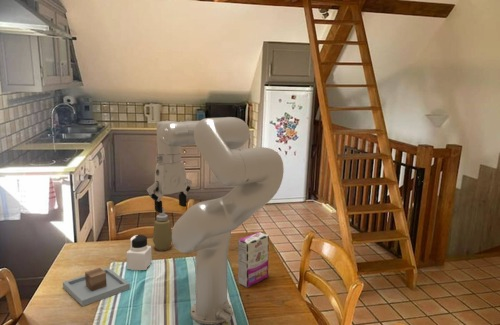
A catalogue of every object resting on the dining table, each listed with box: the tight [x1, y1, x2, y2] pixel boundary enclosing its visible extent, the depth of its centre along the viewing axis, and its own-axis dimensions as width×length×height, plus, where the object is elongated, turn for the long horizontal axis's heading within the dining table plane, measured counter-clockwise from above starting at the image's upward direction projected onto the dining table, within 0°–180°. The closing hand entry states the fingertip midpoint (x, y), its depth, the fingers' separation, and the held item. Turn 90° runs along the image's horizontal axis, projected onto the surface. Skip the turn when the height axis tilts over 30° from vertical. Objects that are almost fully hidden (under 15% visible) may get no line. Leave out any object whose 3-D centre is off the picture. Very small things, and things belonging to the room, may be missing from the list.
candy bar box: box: [237, 231, 270, 288], centre depth 140 cm, size 11×5×16 cm, turn 136°
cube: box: [84, 267, 107, 291], centre depth 133 cm, size 5×5×5 cm
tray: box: [62, 267, 131, 307], centre depth 133 cm, size 16×16×2 cm
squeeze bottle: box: [152, 206, 173, 251], centre depth 166 cm, size 8×8×18 cm
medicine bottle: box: [125, 234, 153, 271], centre depth 149 cm, size 7×7×12 cm
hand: (171, 209), depth 133 cm, fingers open, 9 cm apart
